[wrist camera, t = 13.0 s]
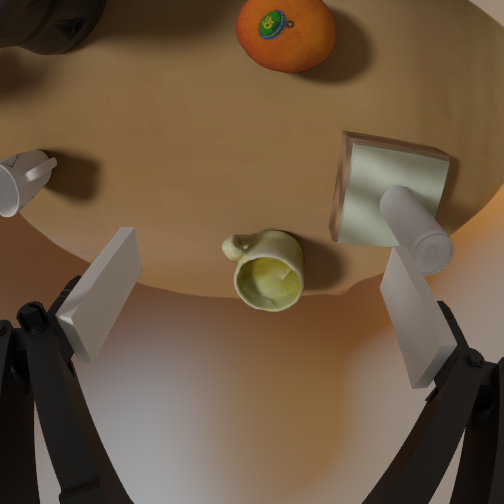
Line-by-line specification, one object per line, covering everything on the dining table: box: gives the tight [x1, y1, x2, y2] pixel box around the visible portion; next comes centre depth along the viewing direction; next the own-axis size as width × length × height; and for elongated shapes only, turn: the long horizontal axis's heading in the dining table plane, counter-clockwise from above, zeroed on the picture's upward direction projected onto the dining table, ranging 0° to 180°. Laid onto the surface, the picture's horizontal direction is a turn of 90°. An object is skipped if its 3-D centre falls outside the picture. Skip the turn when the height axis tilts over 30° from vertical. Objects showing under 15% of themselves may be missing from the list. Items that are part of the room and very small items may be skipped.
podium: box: [329, 131, 450, 247], centre depth 38 cm, size 14×14×5 cm
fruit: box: [236, 0, 336, 73], centre depth 27 cm, size 11×10×8 cm
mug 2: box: [222, 230, 305, 311], centre depth 43 cm, size 12×10×10 cm
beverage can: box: [379, 186, 453, 275], centre depth 31 cm, size 5×5×12 cm
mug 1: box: [0, 150, 57, 217], centre depth 37 cm, size 11×8×10 cm
